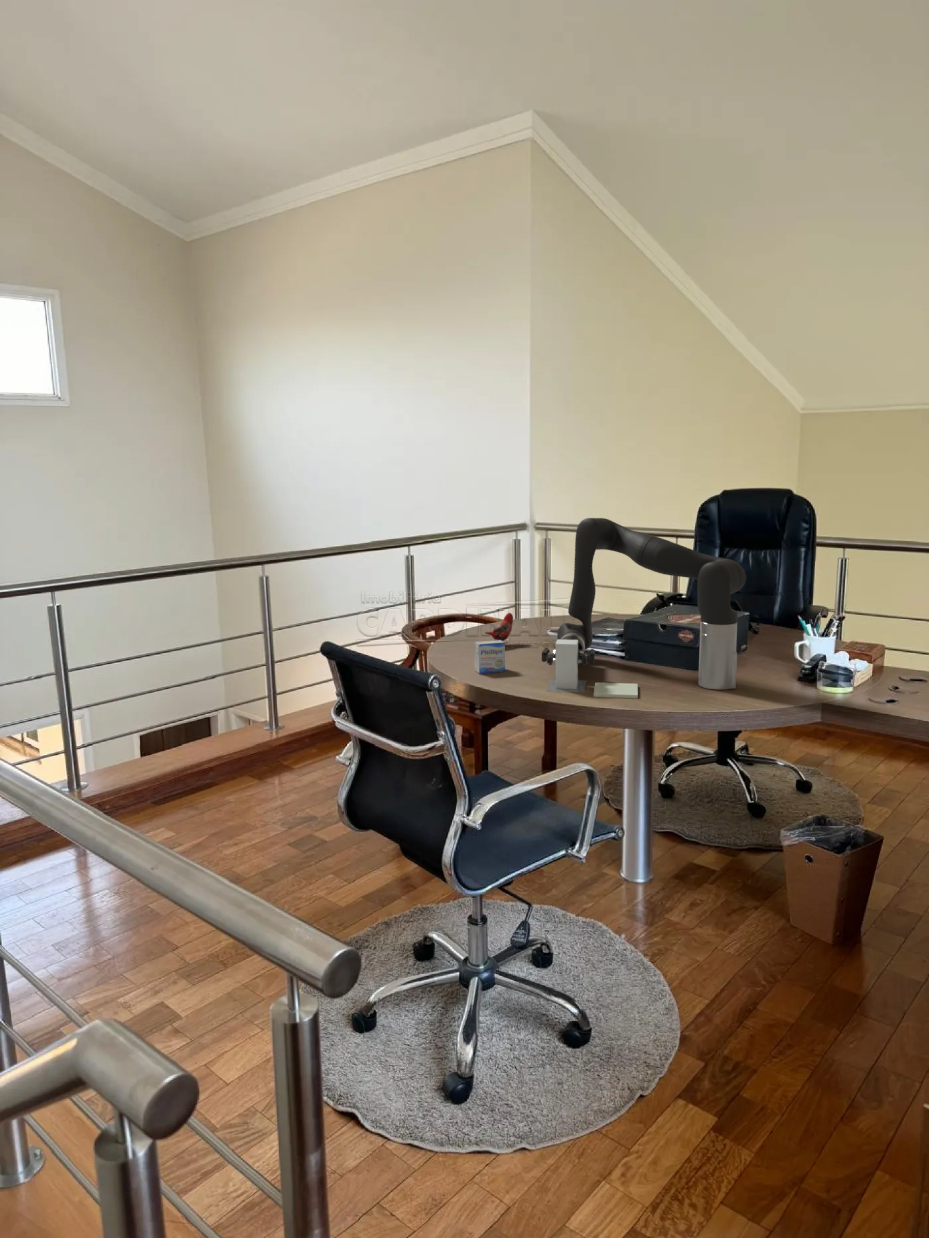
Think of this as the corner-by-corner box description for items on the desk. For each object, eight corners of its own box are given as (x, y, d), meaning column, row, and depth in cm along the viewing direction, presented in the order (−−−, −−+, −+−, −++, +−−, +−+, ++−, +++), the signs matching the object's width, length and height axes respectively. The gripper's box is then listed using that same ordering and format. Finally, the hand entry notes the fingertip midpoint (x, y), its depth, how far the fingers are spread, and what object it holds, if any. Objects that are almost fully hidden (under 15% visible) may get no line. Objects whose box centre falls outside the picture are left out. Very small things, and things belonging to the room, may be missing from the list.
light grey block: (577, 683, 233) (578, 639, 231) (576, 688, 228) (576, 644, 226) (557, 682, 234) (557, 639, 232) (555, 688, 229) (555, 643, 227)
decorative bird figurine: (517, 641, 287) (517, 612, 285) (489, 652, 272) (488, 621, 270) (509, 640, 288) (509, 611, 286) (481, 651, 274) (480, 620, 272)
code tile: (586, 681, 236) (586, 680, 236) (584, 693, 224) (584, 692, 224) (550, 680, 238) (550, 679, 238) (545, 692, 226) (545, 691, 226)
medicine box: (478, 674, 246) (478, 644, 244) (474, 670, 250) (474, 641, 248) (505, 671, 248) (505, 642, 246) (500, 668, 252) (500, 639, 250)
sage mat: (637, 687, 229) (637, 683, 229) (637, 699, 218) (637, 695, 218) (595, 686, 231) (595, 682, 231) (593, 697, 221) (593, 693, 220)
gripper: (545, 634, 245) (539, 647, 230) (596, 635, 242) (593, 648, 227) (545, 660, 247) (539, 674, 231) (596, 662, 244) (593, 676, 228)
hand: (566, 661), depth 229 cm, fingers open, 8 cm apart
